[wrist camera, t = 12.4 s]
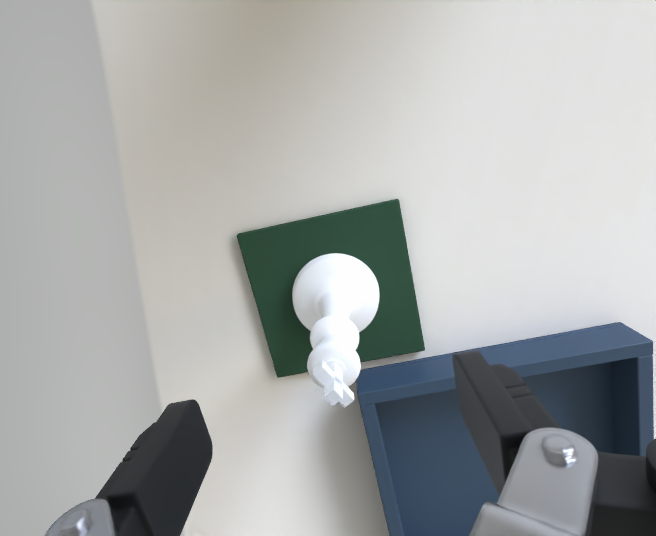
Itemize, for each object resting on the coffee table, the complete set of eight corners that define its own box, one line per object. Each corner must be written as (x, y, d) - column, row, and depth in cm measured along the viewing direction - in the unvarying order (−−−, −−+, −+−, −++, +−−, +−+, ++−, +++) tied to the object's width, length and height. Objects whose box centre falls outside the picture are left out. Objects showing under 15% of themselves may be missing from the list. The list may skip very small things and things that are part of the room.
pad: (238, 233, 22) (236, 235, 22) (397, 198, 21) (398, 199, 21) (278, 374, 24) (277, 377, 24) (423, 347, 24) (425, 350, 23)
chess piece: (331, 351, 23) (325, 485, 14) (274, 290, 22) (226, 389, 13) (396, 300, 22) (440, 406, 13) (341, 235, 22) (342, 296, 12)
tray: (355, 370, 24) (357, 394, 22) (620, 321, 23) (653, 341, 20) (399, 563, 28) (404, 601, 26) (627, 530, 27) (655, 567, 24)
